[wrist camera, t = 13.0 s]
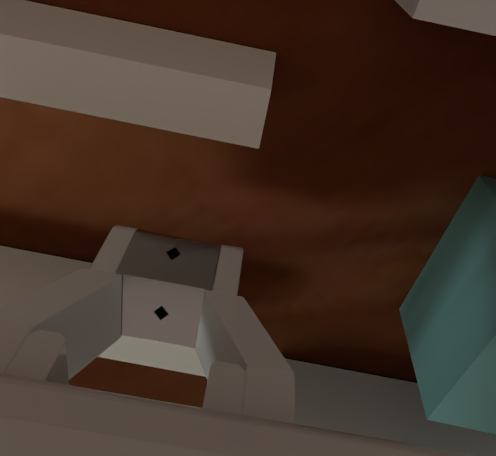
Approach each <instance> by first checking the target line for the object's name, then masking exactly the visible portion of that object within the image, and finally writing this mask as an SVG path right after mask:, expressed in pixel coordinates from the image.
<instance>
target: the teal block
mask: <svg viewBox="0 0 496 456" xmlns="http://www.w3.org/2000/svg"><path fill="white" fill-rule="evenodd" d="M399 311H400V315H401V319H402V323H403V327H404V331H405V335H406V339H407V343H408V347H409V351H410V355H411V359H412V363H413V367H414V371H415V375H416V379H417V383H418V387H419V391H420V395H421V399H422V403H423V407H424V411H425V415H426V419H427V420H430V421H435V422H440V423H444V424H449V425H454V426H459V427H463V428H468V429H473V430H477V431H482V432H487V433H491V434H496V179H495V178H491V177H487V176H483V175H478V177H477V179H476V180H475V182H474V184H473V185H472V187H471V189H470V190H469V192H468V194H467V196H466V197H465V199H464V201H463V202H462V204H461V206H460V207H459V209H458V211H457V212H456V214H455V216H454V217H453V219H452V221H451V222H450V224H449V226H448V228H447V229H446V231H445V233H444V234H443V236H442V238H441V239H440V241H439V243H438V244H437V246H436V248H435V249H434V251H433V253H432V254H431V256H430V258H429V260H428V261H427V263H426V265H425V266H424V268H423V270H422V271H421V273H420V275H419V276H418V278H417V280H416V281H415V283H414V285H413V286H412V288H411V290H410V291H409V293H408V295H407V297H406V298H405V300H404V302H403V303H402V305H401V307H400V308H399Z"/></svg>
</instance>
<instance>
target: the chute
mask: <svg viewBox="0 0 496 456" xmlns="http://www.w3.org/2000/svg"><path fill="white" fill-rule="evenodd" d="M275 59H276V52H271V51H267V50H262V49H257V48H252V47H247V46H243V45H238V44H233V43H228V42H223V41H219V40H214V39H209V38H204V37H199V36H195V35H190V34H185V33H180V32H175V31H171V30H166V29H161V28H156V27H151V26H146V25H142V24H137V23H132V22H127V21H122V20H118V19H113V18H108V17H103V16H98V15H94V14H89V13H84V12H79V11H74V10H70V9H65V8H60V7H55V6H50V5H46V4H41V3H36V2H31V1H26V0H0V97H3V98H8V99H13V100H18V101H23V102H28V103H33V104H38V105H43V106H48V107H53V108H58V109H63V110H68V111H73V112H78V113H83V114H88V115H93V116H98V117H103V118H107V119H112V120H117V121H122V122H127V123H132V124H137V125H142V126H147V127H152V128H157V129H162V130H167V131H172V132H177V133H182V134H187V135H192V136H197V137H202V138H207V139H212V140H217V141H222V142H227V143H232V144H237V145H242V146H247V147H252V148H257V149H259V146H260V142H261V137H262V132H263V127H264V123H265V118H266V113H267V108H268V104H269V99H270V94H271V89H272V82H273V74H274V67H275ZM91 265H92V263H89V262H84V261H79V260H74V259H68V258H63V257H58V256H53V255H47V254H42V253H37V252H32V251H26V250H21V249H16V248H11V247H5V246H0V309H2V308H4V307H6V306H8V305H10V304H12V303H14V302H16V301H18V300H20V299H22V298H24V297H26V296H28V295H30V294H32V293H34V292H35V291H37V290H39V289H41V288H43V287H45V286H47V285H49V284H51V283H53V282H55V281H57V280H59V279H61V278H63V277H65V276H67V275H69V274H71V273H73V272H75V271H77V270H79V269H81V268H87V269H90V267H91ZM98 357H101V358H107V359H112V360H118V361H123V362H129V363H134V364H139V365H145V366H150V367H156V368H161V369H167V370H172V371H177V372H183V373H188V374H194V375H199V376H205V373H204V371H203V369H202V366H201V364H200V361H199V359H198V356H197V354H196V351H195V348H190V347H185V346H181V345H176V344H171V343H166V342H161V341H155V340H149V339H142V338H135V337H128V336H122V335H121V338H120V339H118V340H117V341H116V342H115V343H113V344H112V345H111V346H110V347H109V348H107V349H106V350H105V351H104V352H103V353H101V354H100V355H99V356H98ZM205 377H206V376H205Z"/></svg>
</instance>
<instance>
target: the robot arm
mask: <svg viewBox="0 0 496 456" xmlns="http://www.w3.org/2000/svg"><path fill="white" fill-rule="evenodd" d="M220 249H221V251H220ZM219 255H220V256H219ZM242 258H243V248H240V247H234V246H227V245H222V246H221V245H217V244H212V243H206V242H201V241H195V240H190V239H184V238H180V237H175V236H170V235H166V234H161V233H156V232H151V231H146V230H141V229H136V228H131V227H126V226H120V225H115V226H114V227H113V228H112V229H111V231H110V233H109V234H108V236H107V238H106V240H105V242H104V243H103V245H102V247H101V249H100V251H99V252H98V254H97V256H96V258H95V260H94V261H93V263H92V265H91V267H90V269H87V268H81V269H79V270H77V271H75V272H73V273H71V274H69V275H67V276H65V277H63V278H61V279H59V280H57V281H55V282H53V283H51V284H49V285H47V286H45V287H43V288H41V289H39V290H37V291H35V292H34V293H32V294H30V295H28V296H26V297H24V298H22V299H20V300H18V301H16V302H14V303H12V304H10V305H8V306H6V307H4V308H2V309H0V456H479V455H474V454H468V453H462V452H456V451H450V450H444V449H439V448H433V447H427V446H421V445H415V444H409V443H404V442H398V441H392V440H386V439H380V438H375V437H369V436H363V435H357V434H351V433H345V432H340V431H334V430H328V429H322V428H316V427H311V426H305V425H299V424H295V380H294V372H293V370H292V369H291V367H290V366H289V364H288V363H287V361H286V360H285V358H284V357H283V355H282V354H281V352H280V351H279V349H278V348H277V346H276V345H275V343H274V342H273V340H272V339H271V337H270V336H269V334H268V333H267V331H266V330H265V328H264V327H263V325H262V324H261V322H260V321H259V319H258V318H257V316H256V315H255V313H254V312H253V310H252V309H251V307H250V306H249V304H248V303H247V301H246V300H245V298H244V297H241V296H237V294H238V287H239V280H240V272H241V265H242ZM121 335H122V336H128V337H135V338H142V339H149V340H155V341H161V342H166V343H171V344H176V345H181V346H185V347H190V348H195V351H196V354H197V356H198V359H199V361H200V364H201V366H202V369H203V371H204V373H205V376H206V378H207V386H206V391H205V396H204V401H203V406H202V408H200V407H194V406H188V405H183V404H177V403H171V402H165V401H159V400H153V399H148V398H142V397H136V396H130V395H124V394H119V393H113V392H107V391H101V390H95V389H89V388H84V387H78V386H72V385H69V380H70V379H71V378H72V377H73V376H75V375H76V374H77V373H78V372H79V371H81V370H82V369H83V368H84V367H86V366H87V365H88V364H89V363H90V362H92V361H93V360H94V359H95V358H96V357H98V356H99V355H100V354H101V353H103V352H104V351H105V350H106V349H107V348H109V347H110V346H111V345H112V344H113V343H115V342H116V341H117V340H118V339H120V338H121Z"/></svg>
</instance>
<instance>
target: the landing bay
mask: <svg viewBox="0 0 496 456" xmlns="http://www.w3.org/2000/svg"><path fill="white" fill-rule="evenodd" d="M395 1H396V2H397V3H398V4H399V5H400V6H401V7H402V8H403V9H404V10H405V11H406V12H407V13H408V14H409V15H410V16H411V17H412V18H413V19H418V20H423V21H427V22H432V23H437V24H441V25H446V26H451V27H456V28H460V29H465V30H470V31H474V32H479V33H484V34H489V35H493V36H496V0H395ZM285 360H286V361H287V363H288V364H289V366H290V367H291V369H292V370H293V372H294V380H295V424H299V425H305V426H311V427H316V428H322V429H328V430H334V431H340V432H345V433H351V434H357V435H363V436H369V437H375V438H380V439H386V440H392V441H398V442H404V443H409V444H415V445H421V446H427V447H433V448H439V449H444V450H450V451H456V452H462V453H468V454H474V455H479V456H496V434H491V433H487V432H482V431H477V430H473V429H468V428H463V427H459V426H454V425H449V424H444V423H440V422H435V421H430V420H427V419H426V415H425V411H424V407H423V403H422V399H421V395H420V391H419V387H418V383H414V382H409V381H403V380H398V379H393V378H387V377H382V376H377V375H371V374H366V373H361V372H355V371H350V370H344V369H339V368H334V367H328V366H323V365H318V364H312V363H307V362H301V361H296V360H291V359H285Z"/></svg>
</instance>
